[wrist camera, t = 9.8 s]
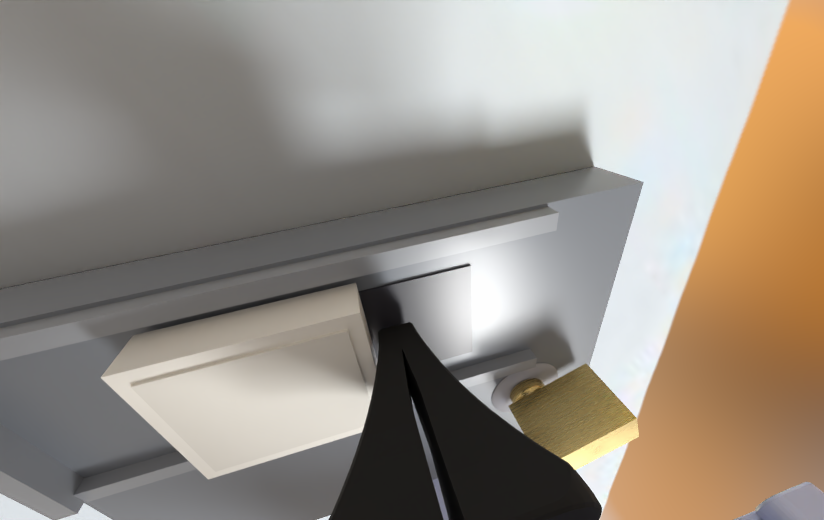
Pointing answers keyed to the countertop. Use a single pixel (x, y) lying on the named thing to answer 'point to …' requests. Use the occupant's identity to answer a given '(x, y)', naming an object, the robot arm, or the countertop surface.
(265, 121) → the countertop surface
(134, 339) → the cover
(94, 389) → the grey slotted tray
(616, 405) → the gold metal block
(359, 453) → the robot arm
